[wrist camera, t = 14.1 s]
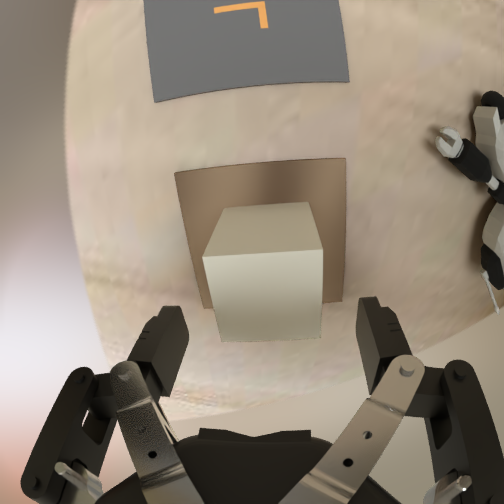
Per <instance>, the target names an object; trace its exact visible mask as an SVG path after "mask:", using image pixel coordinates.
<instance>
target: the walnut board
mask: <svg viewBox="0 0 504 504" xmlns="http://www.w3.org/2000/svg"><path fill="white" fill-rule="evenodd" d="M174 176H175V181H176V186H177V192H178V197H179V202H180V207H181V212H182V217H183V221H184V226H185V231H186V235H187V240H188V245H189V249H190V253H191V258H192V262H193V266H194V271H195V275H196V279H197V283H198V287H199V291H200V295H201V299H202V303H203V307H204V309H207V308H213V303H212V299H211V295H210V290H209V286H208V281H207V277H206V272H205V268H204V263H203V258H202V256H203V254H204V252H205V249H206V247H207V245H208V243H209V240H210V238H211V236H212V234H213V232H214V229H215V227H216V225H217V223H218V221H219V218H220V216H221V214H222V212H223V210H224V208H230V207H242V206H254V205H268V204H282V203H297V202H309V205H310V208H311V212H312V215H313V218H314V221H315V224H316V228H317V231H318V234H319V238H320V241H321V244H322V248H323V288H322V303H331V302H342V295H343V280H344V263H345V239H346V159H345V158H325V159H303V160H287V161H273V162H260V163H249V164H239V165H229V166H220V167H212V168H204V169H196V170H189V171H182V172H175V173H174Z"/></svg>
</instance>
